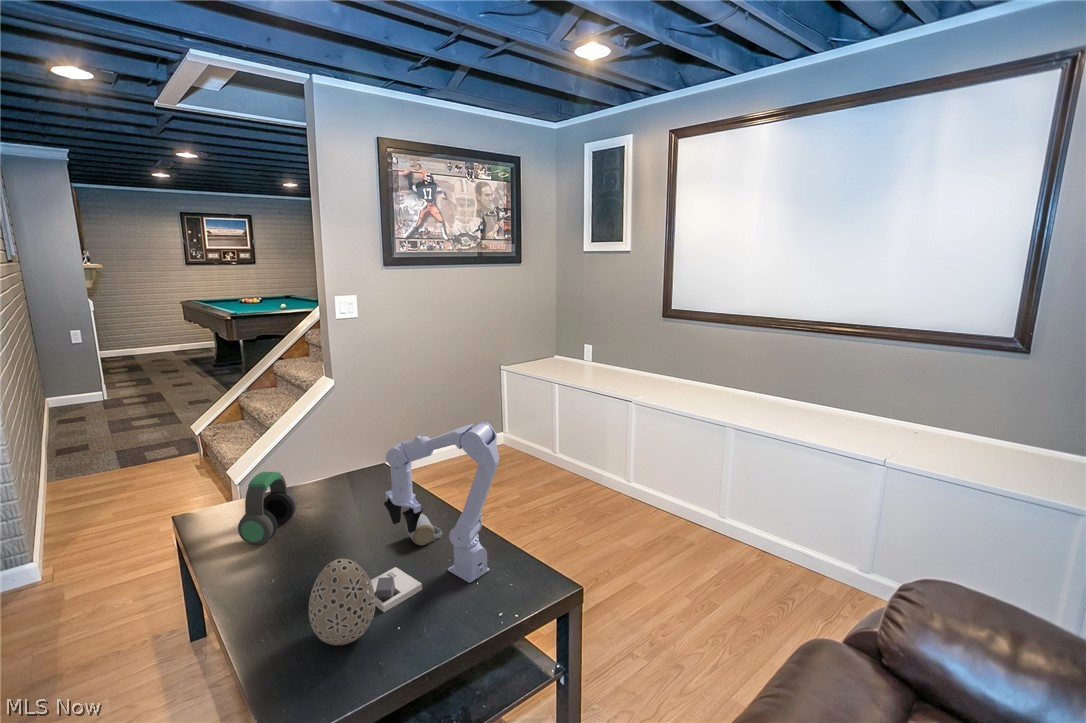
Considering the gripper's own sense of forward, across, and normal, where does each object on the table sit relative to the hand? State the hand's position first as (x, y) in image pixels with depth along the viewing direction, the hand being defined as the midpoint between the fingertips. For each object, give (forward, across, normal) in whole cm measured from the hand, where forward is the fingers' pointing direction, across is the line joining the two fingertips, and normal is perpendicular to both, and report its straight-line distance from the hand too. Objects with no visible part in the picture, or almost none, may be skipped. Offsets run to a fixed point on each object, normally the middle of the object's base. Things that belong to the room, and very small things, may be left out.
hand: (404, 527), depth 155 cm
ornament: (+11, -16, +29) cm, 35 cm away
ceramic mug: (+11, +5, -11) cm, 16 cm away
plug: (+10, -11, +14) cm, 21 cm away
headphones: (+11, +47, +19) cm, 52 cm away
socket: (+10, -10, +12) cm, 19 cm away
